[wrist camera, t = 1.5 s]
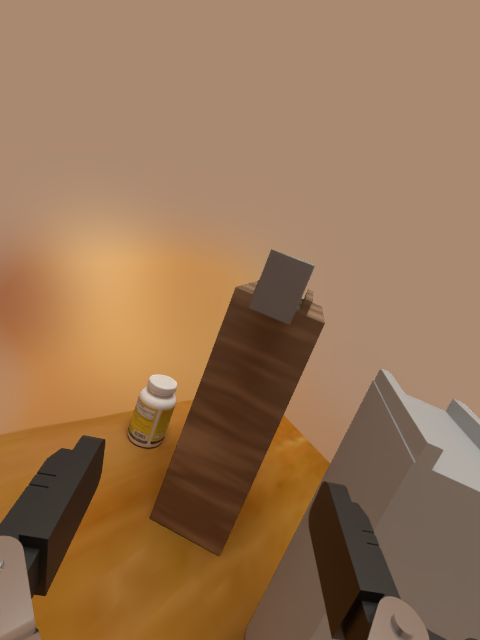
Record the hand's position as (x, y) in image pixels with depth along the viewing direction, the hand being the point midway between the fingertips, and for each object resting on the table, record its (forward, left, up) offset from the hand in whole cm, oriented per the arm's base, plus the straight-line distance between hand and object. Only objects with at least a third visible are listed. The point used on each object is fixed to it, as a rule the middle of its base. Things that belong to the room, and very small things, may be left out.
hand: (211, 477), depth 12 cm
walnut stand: (-4, +31, -29) cm, 42 cm away
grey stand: (+11, +13, -29) cm, 33 cm away
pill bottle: (-18, +36, -29) cm, 50 cm away
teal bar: (-4, +28, +3) cm, 28 cm away
